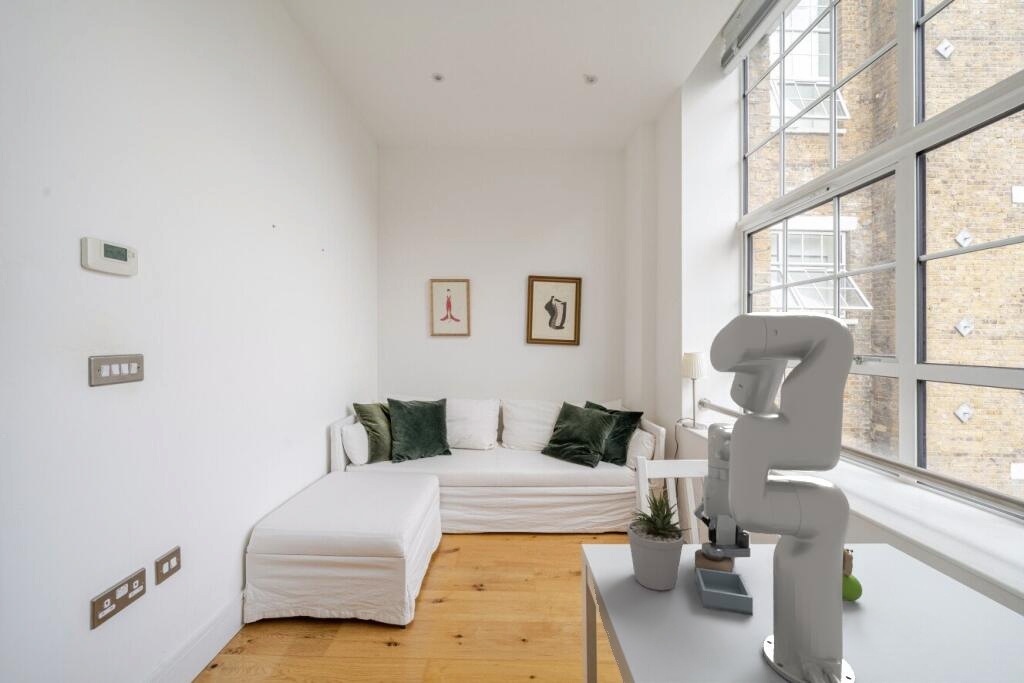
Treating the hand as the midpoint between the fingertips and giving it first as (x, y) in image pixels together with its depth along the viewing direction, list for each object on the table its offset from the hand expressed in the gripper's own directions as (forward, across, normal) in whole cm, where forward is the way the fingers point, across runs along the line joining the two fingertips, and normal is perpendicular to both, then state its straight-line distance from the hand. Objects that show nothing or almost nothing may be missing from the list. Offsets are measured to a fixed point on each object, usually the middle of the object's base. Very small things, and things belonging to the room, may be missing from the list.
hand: (724, 544), depth 105 cm
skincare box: (+4, 0, 0) cm, 4 cm away
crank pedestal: (+4, +4, +8) cm, 10 cm away
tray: (+4, +4, +18) cm, 19 cm away
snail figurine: (+4, -22, +11) cm, 24 cm away
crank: (0, +1, +7) cm, 7 cm away
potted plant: (+4, +17, +15) cm, 23 cm away
